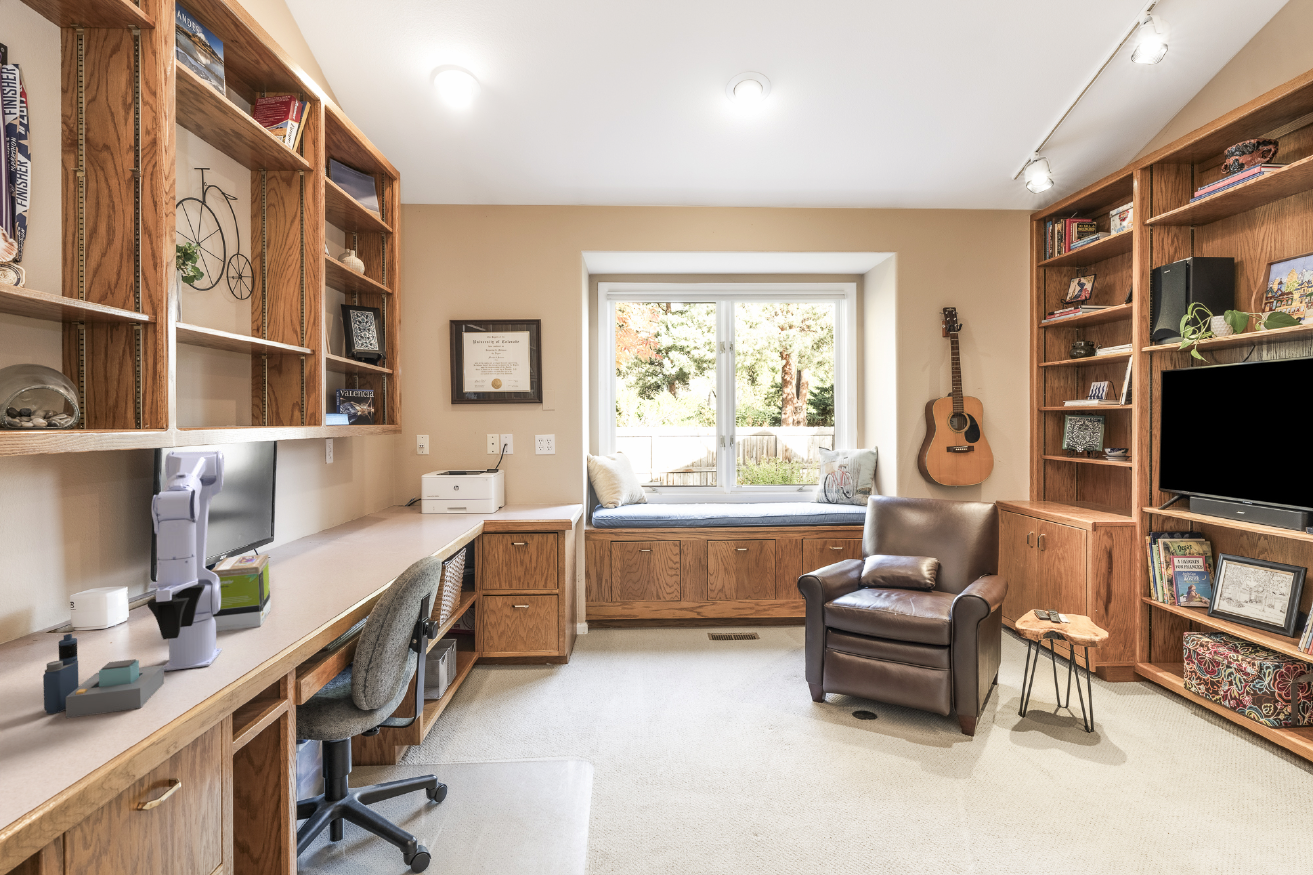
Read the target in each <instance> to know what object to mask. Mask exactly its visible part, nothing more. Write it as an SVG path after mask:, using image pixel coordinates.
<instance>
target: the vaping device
mask: <svg viewBox="0 0 1313 875" xmlns="http://www.w3.org/2000/svg"><path fill="white" fill-rule="evenodd" d="M78 659H79V658H78V638H77V637H73V634H72V633H67V634H64V635H63V639H61V640H59V641H58V660H54V661H49V662H47V663H46V669H45V670H44V673H43V677H42V678H43V681H42V682H43V683H42V684H43V709H44V711H45V713H46V714H47V715H51V714H58V713H61V712H64V711H66V697H67V696H68V695H69V694H70V693H72V692H73V691H74V690H75V689H77V688H78V687H79V686H80V684H79V682H80V680H79V660H78Z"/></svg>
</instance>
